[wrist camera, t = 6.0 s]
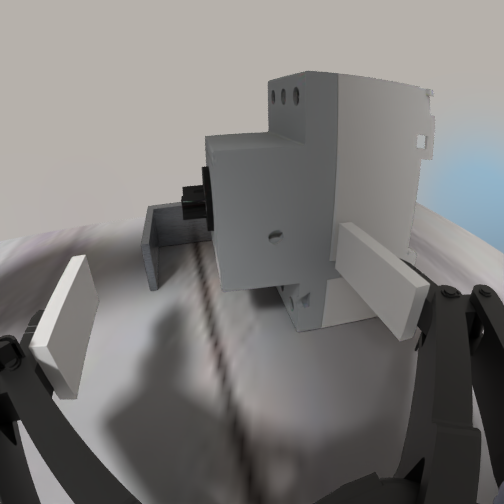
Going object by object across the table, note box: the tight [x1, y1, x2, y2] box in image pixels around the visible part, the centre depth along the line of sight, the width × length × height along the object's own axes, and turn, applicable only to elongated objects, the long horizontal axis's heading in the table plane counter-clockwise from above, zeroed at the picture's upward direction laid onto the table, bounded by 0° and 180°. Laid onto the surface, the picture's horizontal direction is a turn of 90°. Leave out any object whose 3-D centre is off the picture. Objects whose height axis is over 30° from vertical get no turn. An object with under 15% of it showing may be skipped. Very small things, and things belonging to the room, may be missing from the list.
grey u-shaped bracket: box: [141, 202, 212, 291], centre depth 29 cm, size 22×9×4 cm, turn 104°
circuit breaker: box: [181, 71, 435, 332], centre depth 20 cm, size 8×14×15 cm, turn 101°
